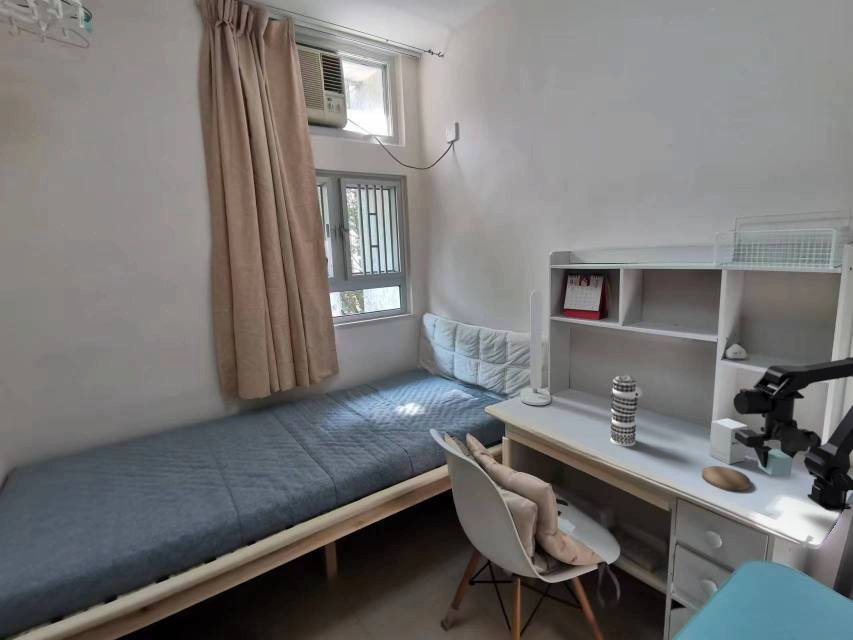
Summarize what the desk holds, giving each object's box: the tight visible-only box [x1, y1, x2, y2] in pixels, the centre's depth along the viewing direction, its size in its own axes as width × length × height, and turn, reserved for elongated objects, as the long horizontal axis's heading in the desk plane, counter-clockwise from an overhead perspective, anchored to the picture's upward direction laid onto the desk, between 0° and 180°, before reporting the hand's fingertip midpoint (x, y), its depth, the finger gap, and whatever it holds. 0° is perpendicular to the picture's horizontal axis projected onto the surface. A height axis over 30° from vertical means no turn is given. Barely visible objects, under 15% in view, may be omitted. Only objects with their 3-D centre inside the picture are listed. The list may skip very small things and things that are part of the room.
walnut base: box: [701, 465, 751, 492], centre depth 130 cm, size 12×12×2 cm
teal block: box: [757, 449, 793, 477], centre depth 116 cm, size 5×5×5 cm
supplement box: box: [709, 417, 749, 465], centre depth 142 cm, size 7×7×13 cm
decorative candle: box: [610, 375, 639, 447], centre depth 157 cm, size 9×9×25 cm
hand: (774, 467), depth 116 cm, fingers closed on teal block, 5 cm apart
